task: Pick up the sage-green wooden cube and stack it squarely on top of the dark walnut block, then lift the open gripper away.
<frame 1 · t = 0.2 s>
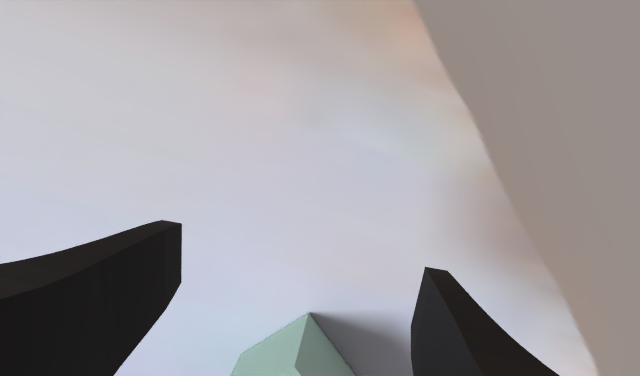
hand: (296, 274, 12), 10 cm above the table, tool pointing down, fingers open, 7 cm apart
green cube: (299, 367, 24), on the table
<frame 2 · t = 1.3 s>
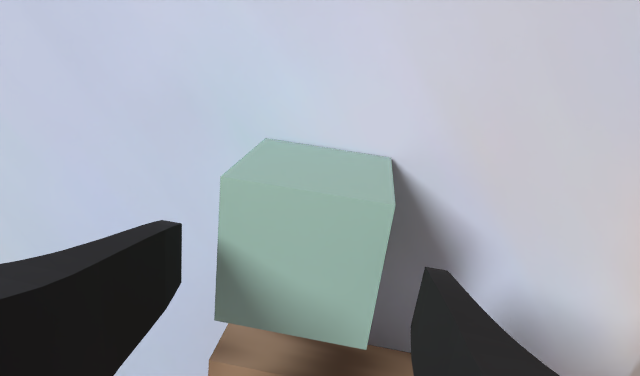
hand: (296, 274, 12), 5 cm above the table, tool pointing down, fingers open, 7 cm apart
green cube: (319, 206, 17), on the table
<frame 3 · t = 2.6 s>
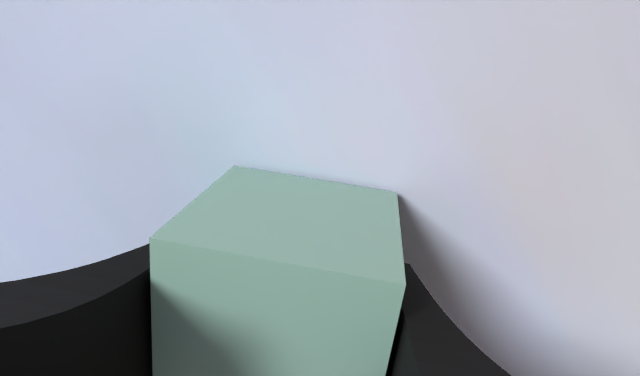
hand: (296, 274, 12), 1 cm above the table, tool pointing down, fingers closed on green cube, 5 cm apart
green cube: (305, 251, 13), on the table, touching gripper
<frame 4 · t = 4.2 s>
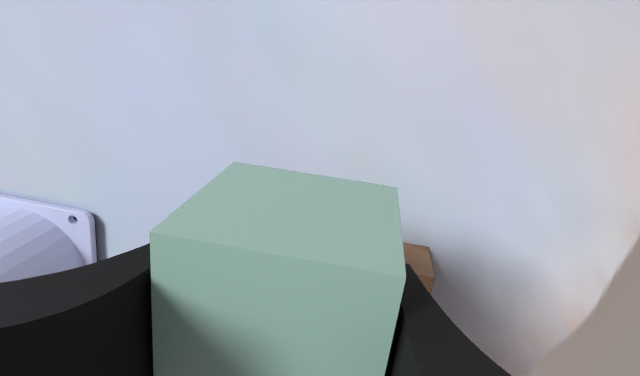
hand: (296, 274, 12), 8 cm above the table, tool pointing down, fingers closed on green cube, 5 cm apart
green cube: (305, 247, 13), point 7 cm above the table, touching gripper
walnut block: (326, 301, 23), on the table
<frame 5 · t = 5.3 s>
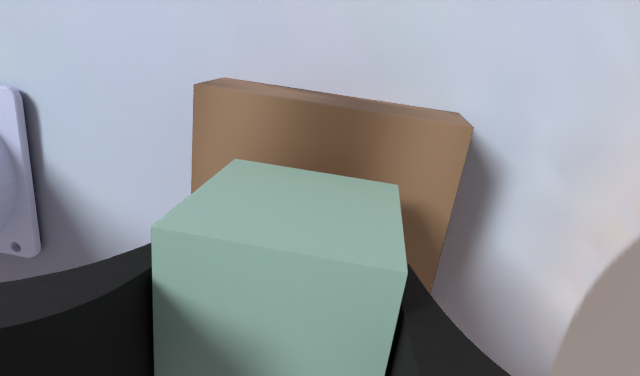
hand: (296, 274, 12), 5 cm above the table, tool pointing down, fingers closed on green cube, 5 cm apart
green cube: (306, 244, 13), point 4 cm above the table, touching gripper
walnut block: (323, 201, 18), on the table
when the fingers open (5 cm above the table, at t = 6.1 s): green cube drops 1 cm, point 2 cm above the table.
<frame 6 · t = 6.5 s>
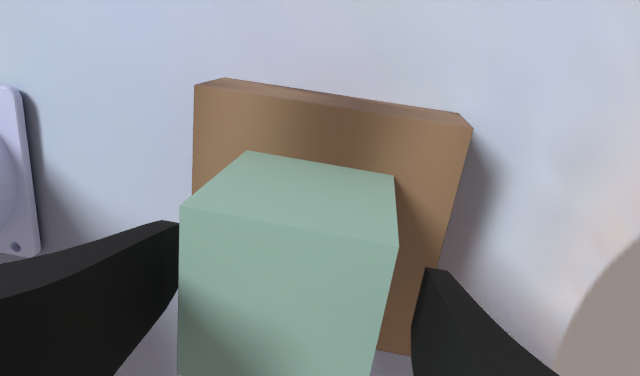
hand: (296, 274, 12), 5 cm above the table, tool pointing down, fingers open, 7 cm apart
green cube: (309, 229, 15), point 2 cm above the table
walnut block: (323, 201, 18), on the table
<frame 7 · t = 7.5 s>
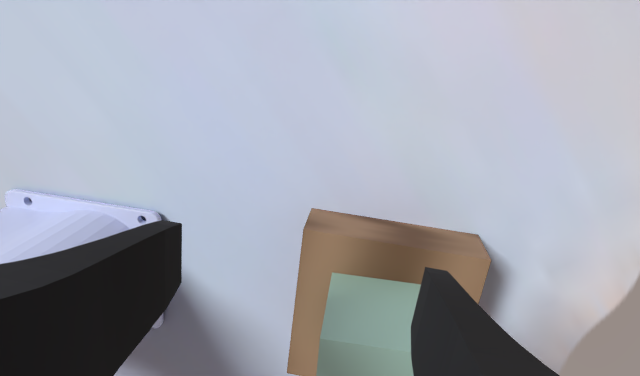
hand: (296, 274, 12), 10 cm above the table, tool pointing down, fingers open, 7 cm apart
green cube: (375, 321, 22), point 3 cm above the table
walnut block: (379, 289, 24), on the table
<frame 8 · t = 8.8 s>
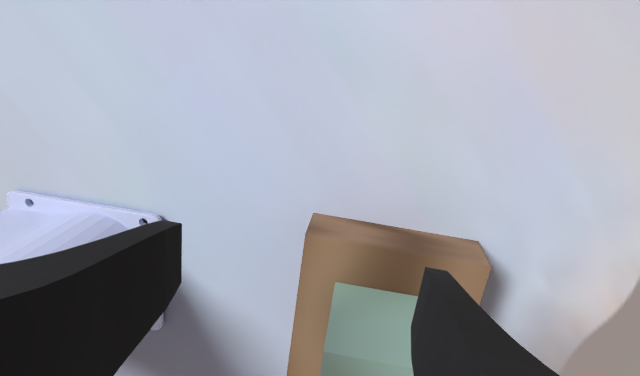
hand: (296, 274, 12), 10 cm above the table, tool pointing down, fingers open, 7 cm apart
green cube: (376, 330, 22), point 3 cm above the table, touching walnut block
walnut block: (379, 294, 24), on the table, touching green cube
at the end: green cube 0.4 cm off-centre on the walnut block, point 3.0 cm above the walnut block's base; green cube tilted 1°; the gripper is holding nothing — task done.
